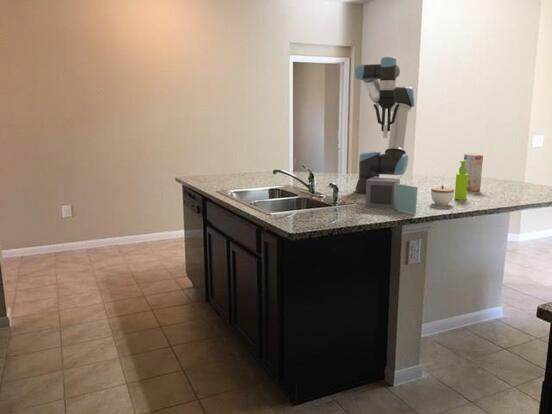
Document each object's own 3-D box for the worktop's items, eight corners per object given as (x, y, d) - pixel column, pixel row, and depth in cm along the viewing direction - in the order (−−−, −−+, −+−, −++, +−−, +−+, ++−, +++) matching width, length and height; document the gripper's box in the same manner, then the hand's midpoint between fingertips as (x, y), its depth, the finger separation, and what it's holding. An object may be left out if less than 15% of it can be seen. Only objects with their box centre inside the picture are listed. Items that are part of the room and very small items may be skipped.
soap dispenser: (469, 199, 246) (472, 161, 242) (455, 199, 248) (458, 161, 244) (467, 197, 252) (470, 160, 248) (453, 197, 253) (456, 160, 249)
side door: (414, 213, 209) (415, 187, 207) (392, 208, 222) (393, 183, 219) (417, 213, 210) (418, 186, 208) (395, 208, 222) (396, 183, 220)
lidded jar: (429, 205, 231) (430, 186, 229) (430, 201, 241) (432, 183, 239) (452, 207, 227) (454, 187, 225) (453, 203, 237) (454, 184, 235)
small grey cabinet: (370, 202, 238) (371, 175, 236) (404, 205, 232) (405, 177, 229) (365, 207, 227) (366, 178, 225) (400, 209, 221) (402, 180, 218)
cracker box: (480, 191, 273) (483, 155, 269) (470, 191, 274) (473, 155, 270) (471, 187, 287) (473, 153, 283) (461, 187, 287) (463, 153, 283)
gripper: (372, 89, 231) (370, 138, 235) (400, 89, 226) (397, 138, 230) (375, 90, 238) (373, 137, 242) (402, 89, 233) (400, 137, 237)
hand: (385, 138), depth 236 cm, fingers closed
